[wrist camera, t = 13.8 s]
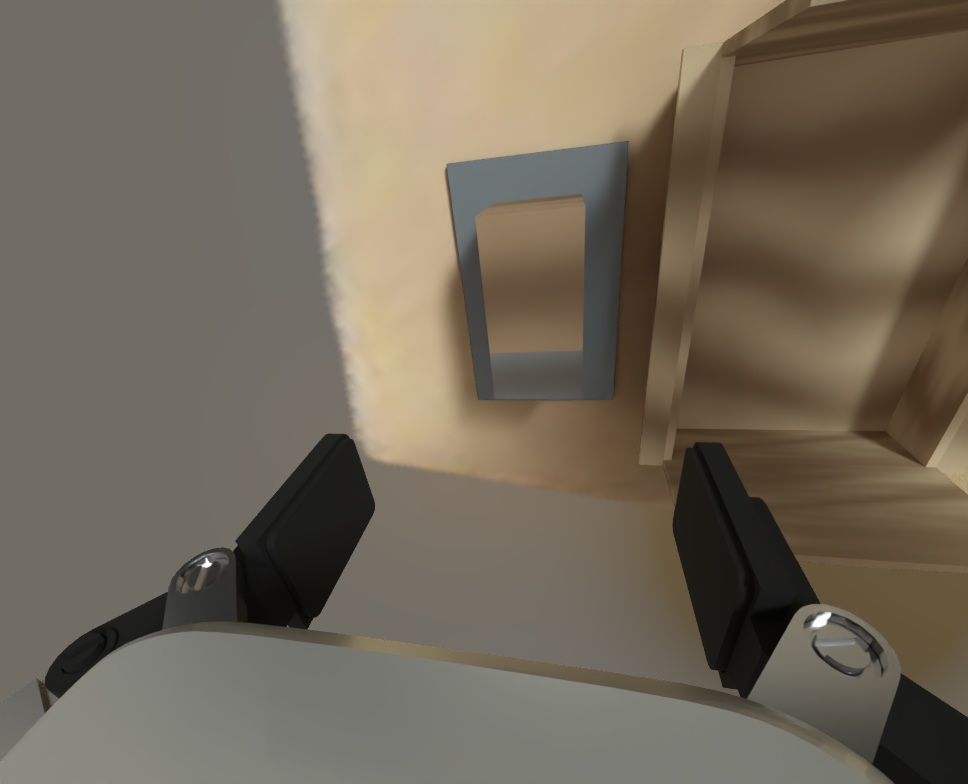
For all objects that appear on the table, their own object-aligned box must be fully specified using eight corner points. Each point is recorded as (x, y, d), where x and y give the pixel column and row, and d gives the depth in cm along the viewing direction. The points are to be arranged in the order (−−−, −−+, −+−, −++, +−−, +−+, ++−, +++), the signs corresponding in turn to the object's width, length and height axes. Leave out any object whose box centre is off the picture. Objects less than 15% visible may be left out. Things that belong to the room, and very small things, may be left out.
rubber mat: (448, 163, 24) (446, 163, 23) (627, 141, 22) (628, 141, 21) (479, 397, 32) (478, 399, 31) (612, 396, 30) (612, 399, 29)
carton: (663, 65, 20) (749, -8, 11) (1145, -11, 16) (1926, -226, 7) (631, 430, 31) (658, 552, 21) (913, 434, 27) (1094, 582, 18)
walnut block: (494, 202, 24) (474, 216, 19) (581, 193, 23) (585, 206, 18) (507, 355, 29) (494, 399, 24) (579, 353, 28) (581, 399, 23)
